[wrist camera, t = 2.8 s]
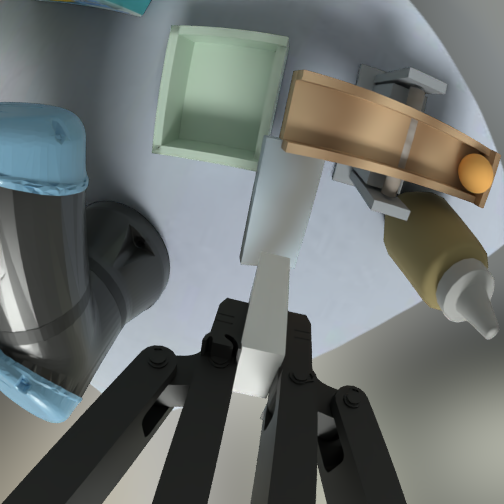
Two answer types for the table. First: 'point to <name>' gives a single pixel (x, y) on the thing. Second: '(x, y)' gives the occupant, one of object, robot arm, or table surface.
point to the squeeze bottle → (442, 260)
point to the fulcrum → (398, 89)
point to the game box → (113, 5)
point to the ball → (475, 173)
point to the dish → (218, 94)
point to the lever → (347, 156)
